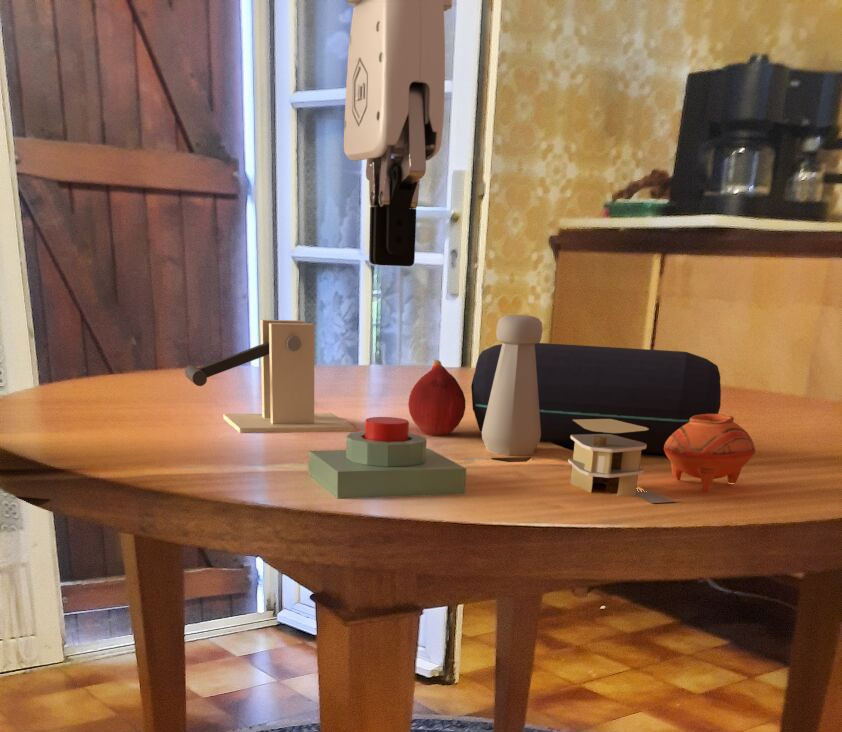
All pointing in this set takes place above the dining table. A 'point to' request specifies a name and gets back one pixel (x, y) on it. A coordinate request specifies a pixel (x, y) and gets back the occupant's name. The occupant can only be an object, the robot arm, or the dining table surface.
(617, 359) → the portable speaker
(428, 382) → the onion
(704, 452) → the pot
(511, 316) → the salt shaker
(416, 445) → the socket block
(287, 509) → the dining table surface
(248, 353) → the lever switch
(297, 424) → the wooden lever stand
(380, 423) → the button
